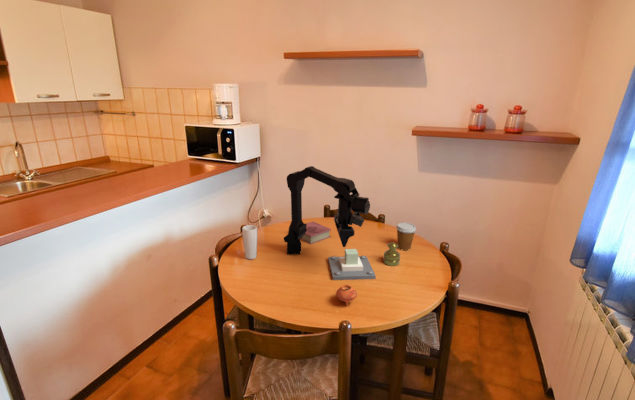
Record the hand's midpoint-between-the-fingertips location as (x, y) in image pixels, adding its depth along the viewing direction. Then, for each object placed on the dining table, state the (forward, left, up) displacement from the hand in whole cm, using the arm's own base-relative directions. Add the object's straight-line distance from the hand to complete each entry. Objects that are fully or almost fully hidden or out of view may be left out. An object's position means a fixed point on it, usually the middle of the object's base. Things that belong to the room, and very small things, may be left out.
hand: (342, 242), depth 153 cm
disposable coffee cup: (+35, +17, -12) cm, 40 cm away
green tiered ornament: (+24, +2, -12) cm, 26 cm away
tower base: (+4, -3, -12) cm, 13 cm away
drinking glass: (-41, +10, -12) cm, 44 cm away
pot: (-2, -27, -12) cm, 30 cm away
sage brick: (+4, -3, -8) cm, 9 cm away
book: (-11, +33, -12) cm, 37 cm away
